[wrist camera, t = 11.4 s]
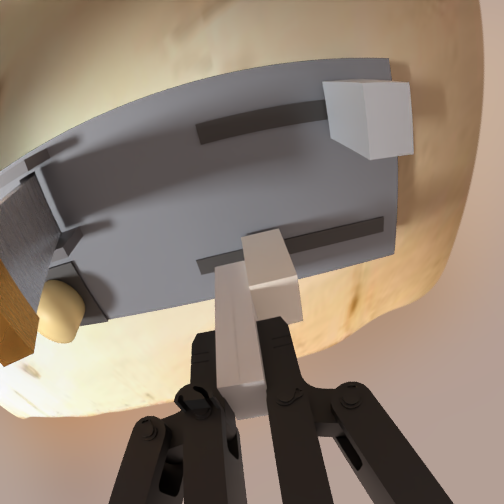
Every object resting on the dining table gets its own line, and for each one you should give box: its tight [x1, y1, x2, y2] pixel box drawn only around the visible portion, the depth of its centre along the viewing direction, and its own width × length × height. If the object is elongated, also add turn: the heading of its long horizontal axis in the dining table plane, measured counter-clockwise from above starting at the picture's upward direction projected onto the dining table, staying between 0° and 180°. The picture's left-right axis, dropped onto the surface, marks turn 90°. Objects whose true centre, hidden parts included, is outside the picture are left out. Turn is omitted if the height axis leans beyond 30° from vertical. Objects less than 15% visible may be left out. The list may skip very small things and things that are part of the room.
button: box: [37, 280, 85, 343], centre depth 15 cm, size 4×4×2 cm
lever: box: [0, 171, 62, 367], centre depth 8 cm, size 1×4×10 cm, turn 12°
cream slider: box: [241, 228, 303, 324], centre depth 14 cm, size 2×3×4 cm
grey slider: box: [322, 79, 414, 160], centre depth 10 cm, size 2×3×4 cm
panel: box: [0, 58, 398, 326], centre depth 14 cm, size 24×12×5 cm, turn 102°
